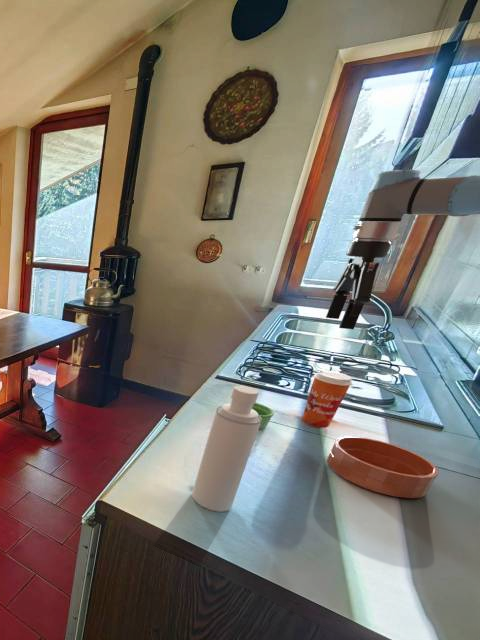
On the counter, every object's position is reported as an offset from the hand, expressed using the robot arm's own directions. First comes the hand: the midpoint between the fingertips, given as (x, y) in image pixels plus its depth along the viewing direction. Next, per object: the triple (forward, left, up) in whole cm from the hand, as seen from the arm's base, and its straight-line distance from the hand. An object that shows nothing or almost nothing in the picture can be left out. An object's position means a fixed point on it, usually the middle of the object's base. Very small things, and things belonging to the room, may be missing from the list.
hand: (338, 323), depth 106 cm
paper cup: (-4, +12, -25) cm, 28 cm away
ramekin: (+8, +26, -25) cm, 37 cm away
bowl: (-17, +34, -25) cm, 46 cm away
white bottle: (+3, +69, -25) cm, 74 cm away
